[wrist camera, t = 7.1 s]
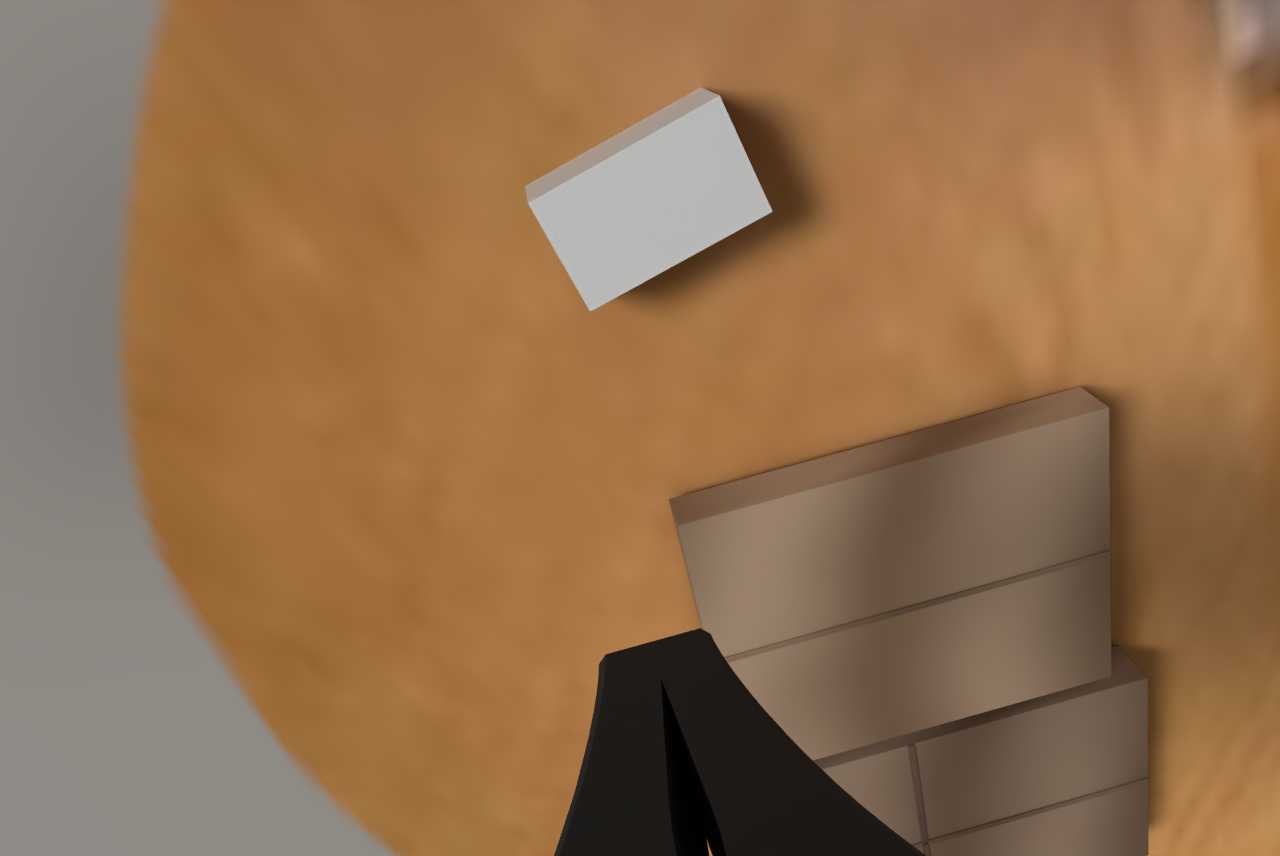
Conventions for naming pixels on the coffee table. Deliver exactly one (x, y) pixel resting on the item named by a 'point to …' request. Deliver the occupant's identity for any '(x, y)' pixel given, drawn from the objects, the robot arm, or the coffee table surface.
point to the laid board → (1018, 775)
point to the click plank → (913, 573)
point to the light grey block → (648, 197)
